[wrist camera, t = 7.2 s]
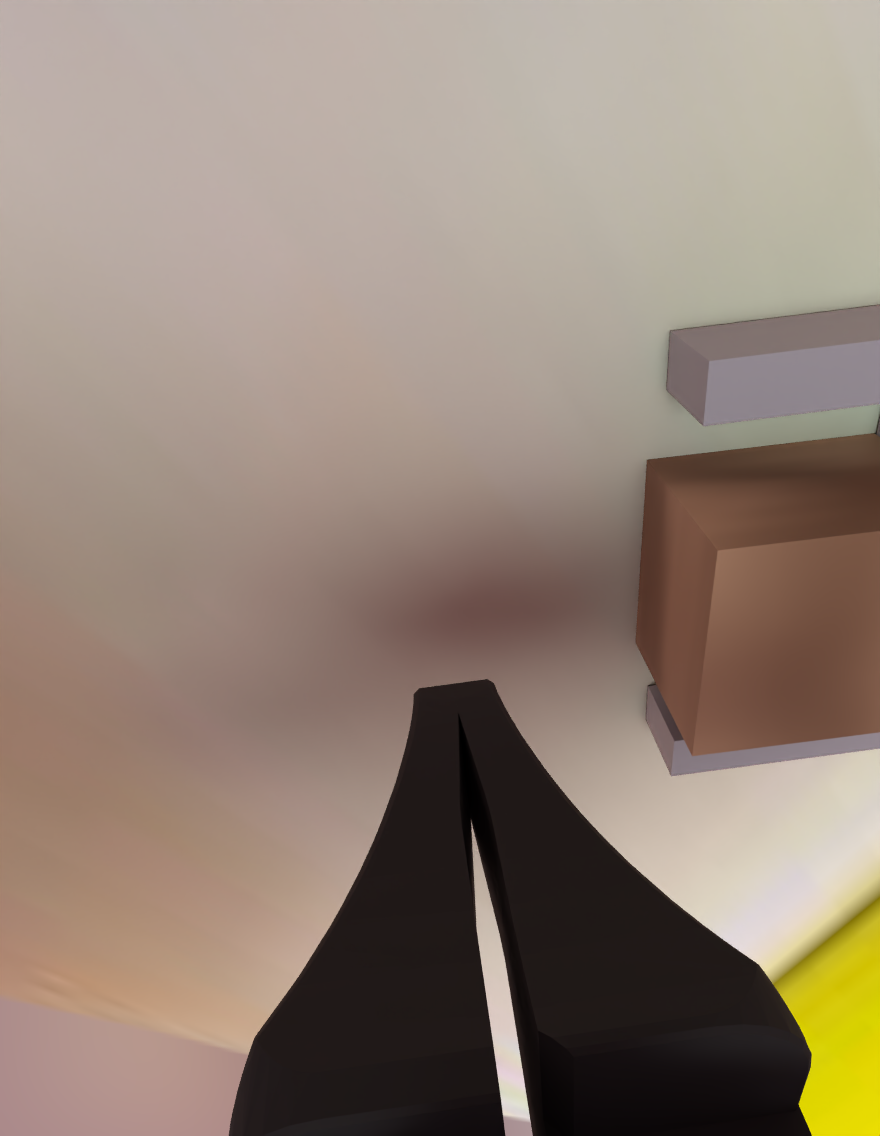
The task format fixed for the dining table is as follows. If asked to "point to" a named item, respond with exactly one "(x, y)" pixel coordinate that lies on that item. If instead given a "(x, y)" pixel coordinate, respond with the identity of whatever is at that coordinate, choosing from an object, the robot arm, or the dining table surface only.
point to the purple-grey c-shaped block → (755, 391)
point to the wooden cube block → (764, 592)
